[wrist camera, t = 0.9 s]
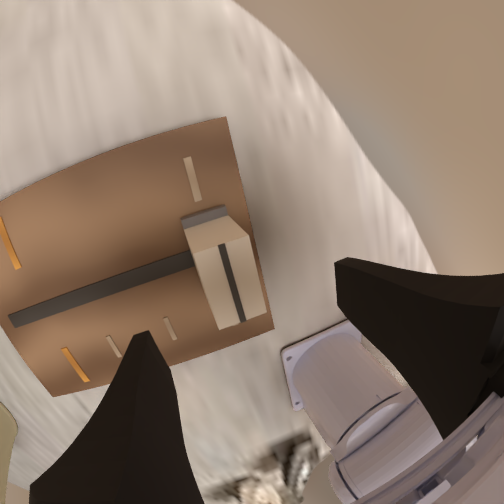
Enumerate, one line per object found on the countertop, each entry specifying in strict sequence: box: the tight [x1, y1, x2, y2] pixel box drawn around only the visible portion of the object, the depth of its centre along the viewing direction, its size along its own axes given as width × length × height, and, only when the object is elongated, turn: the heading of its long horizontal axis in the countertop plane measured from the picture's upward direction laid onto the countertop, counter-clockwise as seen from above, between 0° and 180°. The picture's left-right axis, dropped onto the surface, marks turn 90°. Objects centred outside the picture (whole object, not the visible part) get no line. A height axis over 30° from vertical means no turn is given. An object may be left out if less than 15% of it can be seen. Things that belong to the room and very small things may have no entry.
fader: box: [180, 204, 267, 330], centre depth 15 cm, size 5×2×4 cm, turn 13°
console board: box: [0, 117, 275, 397], centre depth 16 cm, size 14×18×2 cm
